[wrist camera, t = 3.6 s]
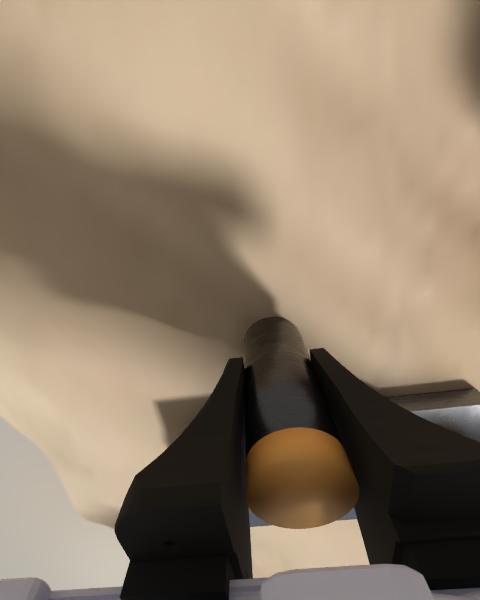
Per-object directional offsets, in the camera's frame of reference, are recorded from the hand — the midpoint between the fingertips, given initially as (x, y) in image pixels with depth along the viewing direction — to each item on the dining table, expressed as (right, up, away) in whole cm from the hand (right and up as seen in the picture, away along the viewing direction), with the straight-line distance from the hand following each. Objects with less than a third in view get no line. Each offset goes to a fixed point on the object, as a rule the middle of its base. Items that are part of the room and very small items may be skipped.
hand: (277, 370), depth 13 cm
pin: (0, +1, +2) cm, 2 cm away
